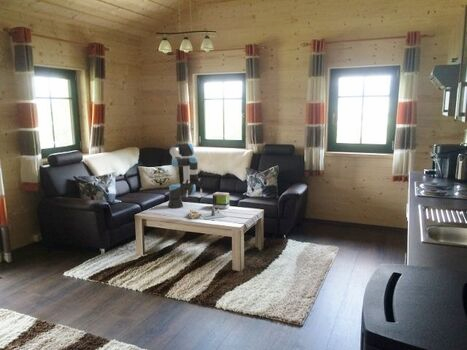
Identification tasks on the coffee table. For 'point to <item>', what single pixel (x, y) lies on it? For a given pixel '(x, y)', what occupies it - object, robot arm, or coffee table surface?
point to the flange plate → (194, 214)
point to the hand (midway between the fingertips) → (194, 196)
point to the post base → (218, 215)
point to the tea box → (220, 200)
